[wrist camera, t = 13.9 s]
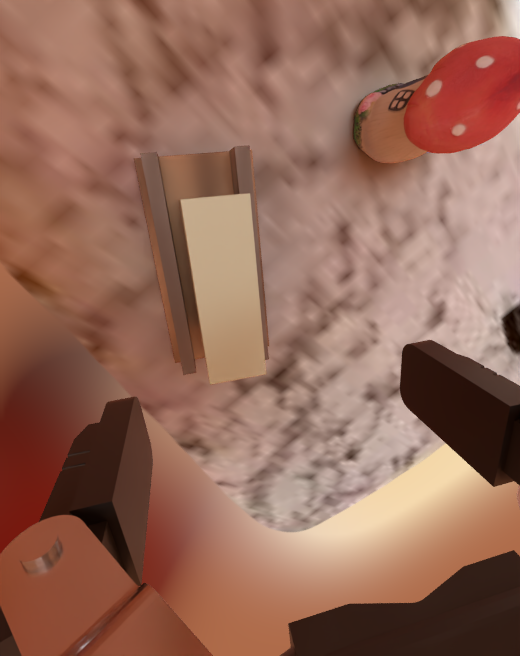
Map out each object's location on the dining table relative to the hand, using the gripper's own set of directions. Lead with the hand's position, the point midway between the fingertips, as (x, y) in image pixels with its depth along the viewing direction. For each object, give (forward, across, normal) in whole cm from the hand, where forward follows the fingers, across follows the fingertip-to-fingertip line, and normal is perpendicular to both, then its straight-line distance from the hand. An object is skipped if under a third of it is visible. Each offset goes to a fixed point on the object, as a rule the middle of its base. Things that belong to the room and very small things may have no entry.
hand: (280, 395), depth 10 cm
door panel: (+25, 0, 0) cm, 25 cm away
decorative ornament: (+26, -19, -10) cm, 34 cm away
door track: (+26, 0, 0) cm, 26 cm away
